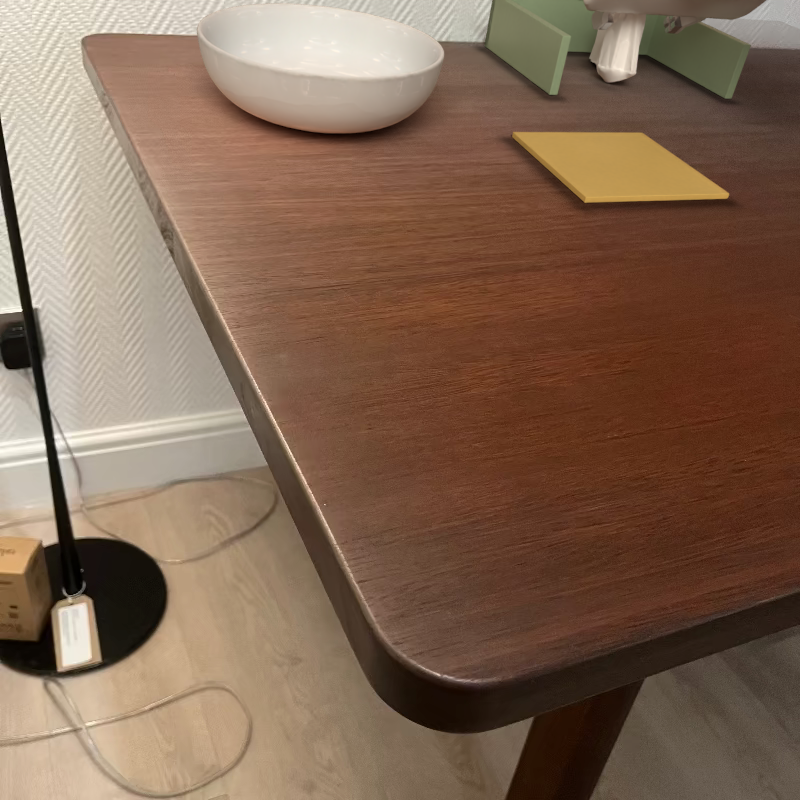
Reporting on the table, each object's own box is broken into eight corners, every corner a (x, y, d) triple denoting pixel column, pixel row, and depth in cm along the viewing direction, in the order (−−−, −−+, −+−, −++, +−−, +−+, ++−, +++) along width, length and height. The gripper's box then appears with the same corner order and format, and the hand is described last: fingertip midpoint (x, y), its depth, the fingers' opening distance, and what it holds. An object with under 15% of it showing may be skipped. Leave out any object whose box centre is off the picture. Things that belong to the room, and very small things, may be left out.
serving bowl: (151, 95, 71) (146, 11, 67) (329, 68, 84) (334, -4, 80) (303, 181, 61) (308, 88, 57) (480, 135, 74) (495, 56, 70)
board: (640, 137, 79) (642, 132, 79) (727, 199, 69) (729, 193, 68) (511, 137, 74) (512, 131, 74) (584, 203, 64) (586, 197, 64)
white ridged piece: (631, 92, 91) (663, -16, 84) (595, 86, 91) (623, -22, 85) (620, 63, 101) (648, -36, 94) (587, 58, 101) (612, -41, 94)
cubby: (648, 52, 107) (664, -4, 103) (731, 99, 94) (754, 37, 90) (483, 45, 100) (494, -15, 95) (549, 95, 86) (565, 27, 82)
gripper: (631, -32, 74) (556, 49, 87) (806, -18, 80) (712, 56, 93) (620, -97, 74) (547, -7, 87) (795, -77, 81) (703, 4, 94)
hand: (634, 25), depth 90 cm, fingers open, 8 cm apart
